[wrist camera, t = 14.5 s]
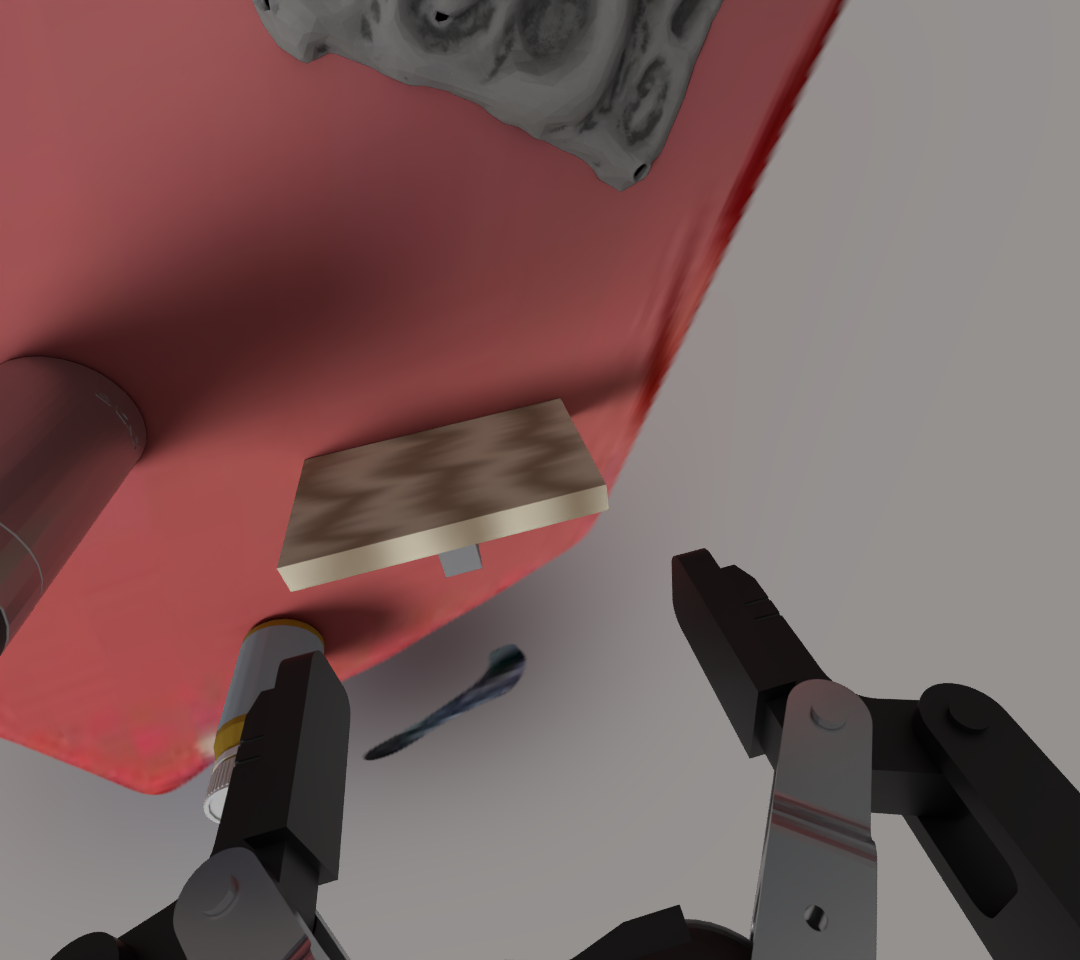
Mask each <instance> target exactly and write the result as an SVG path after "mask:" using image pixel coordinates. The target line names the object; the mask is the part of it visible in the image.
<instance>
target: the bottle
mask: <svg viewBox="0 0 1080 960" xmlns="http://www.w3.org/2000/svg"><path fill="white" fill-rule="evenodd" d="M324 648H325V644H324V640H323V637H322V636H321V635H320V633H319V632H318V631H317V630H316V629H314V628H313V627H312V626H310V625H309V624H307V623H305V622H302V621H299V620H295V619H274V620H271V621H268V622H265V623H263V624H260V625H258V626H257V627H255V628H253V629H252V630H250V631H249V632H248V634H247V635H246V636H245V638H244V640H243V643H242V645H241V649H240V652H239V656H238V660H237V663H236V667H235V670H234V674H233V677H232V681H231V684H230V688H229V691H228V695H227V698H226V702H225V705H224V709H223V713H222V716H221V720H220V723H219V727H218V730H217V734H216V739H215V743H214V753H215V760H216V763H215V765H214V769H213V772H212V773H213V774H212V775H211V778H210V782H209V786H208V789H207V793H206V797H205V801H204V812H205V814H206V816H207V817H208V818H209V819H211V820H212V821H214V822H216V823H218V824H220V820H221V816H222V811H223V807H224V803H225V799H226V795H227V791H228V787H229V783H230V779H231V775H232V771H233V767H235V758H236V754H237V750H238V746H240V738H241V734H242V730H243V726H244V721H245V717H246V715H247V713H248V712H249V710H250V709H251V707H252V705H253V704H254V702H255V700H256V699H257V697H258V696H259V694H260V692H261V691H265V690H268V689H272V688H274V686H275V682H276V677H277V672H278V668H279V665H280V663H281V661H282V660H283V659H287V658H290V657H294V656H298V655H302V654H305V653H309V652H313V651H317V650H319V651H321V652H322V653H323V655H324Z"/></svg>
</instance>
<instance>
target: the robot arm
mask: <svg viewBox="0 0 1080 960" xmlns="http://www.w3.org/2000/svg"><path fill="white" fill-rule="evenodd" d="M145 445H146V428H145V424H144V420H143V418H142V416H141V414H140V412H139V410H138V408H137V406H136V405H135V404H134V402H133V401H132V400H131V399H130V398H129V396H128V395H127V394H126V393H125V392H124V391H123V390H122V389H120V388H119V387H118V386H117V385H116V384H115V383H114V382H112V381H111V380H109V379H107V378H106V377H104V376H103V375H101V374H100V373H98V372H96V371H94V370H92V369H89V368H87V367H85V366H83V365H80V364H77V363H74V362H70V361H67V360H63V359H58V358H50V357H43V356H41V357H22V358H18V359H14V360H9V361H7V362H5V363H3V364H1V365H0V655H1V654H2V653H3V651H4V650H5V649H6V647H7V646H8V644H9V643H10V641H11V640H12V639H13V637H14V636H15V634H16V633H17V632H18V630H19V629H20V627H21V626H22V624H23V623H24V622H25V620H26V619H27V617H28V616H29V615H30V613H31V612H32V610H33V609H34V607H35V605H36V604H37V603H38V601H39V600H40V598H41V597H42V596H43V594H44V593H45V591H46V590H47V589H48V587H49V586H50V584H51V583H52V581H53V580H54V579H55V577H56V576H57V574H58V573H59V572H60V570H61V569H62V567H63V566H64V564H65V563H66V562H67V560H68V559H69V557H70V556H71V555H72V553H73V552H74V550H75V549H76V547H77V546H78V545H79V543H80V542H81V540H82V539H83V538H84V536H85V535H86V533H87V532H88V531H89V529H90V528H91V526H92V525H93V523H94V522H95V521H96V519H97V518H98V516H99V515H100V514H101V512H102V511H103V509H104V508H105V506H106V505H107V504H108V502H109V501H110V499H111V498H112V497H113V495H114V494H115V492H116V491H117V490H118V488H119V487H120V485H121V484H122V482H123V481H124V479H125V478H126V476H127V475H128V474H129V472H130V471H131V469H132V468H133V467H134V465H135V464H136V462H137V461H138V459H139V458H140V457H141V455H142V453H143V451H144V448H145ZM672 590H673V591H672V592H673V593H672V595H673V606H674V611H675V614H676V617H677V620H678V623H679V625H680V627H681V629H682V631H683V633H684V634H685V637H686V639H687V640H688V642H689V644H690V646H691V648H692V650H693V652H694V654H695V656H696V657H697V659H698V661H699V663H700V665H701V667H702V669H703V671H704V673H705V675H706V676H707V678H708V680H709V682H710V684H711V686H712V688H713V690H714V692H715V693H716V695H717V697H718V699H719V701H720V703H721V705H722V707H723V709H724V711H725V712H726V714H727V716H728V718H729V720H730V722H731V724H732V726H733V728H734V730H735V731H736V733H737V735H738V737H739V739H740V741H741V743H742V745H743V746H744V749H745V750H746V752H747V754H748V756H749V758H753V757H756V756H760V755H763V754H766V756H767V758H768V760H769V762H770V763H771V765H772V767H773V769H774V776H773V784H772V790H771V797H770V804H769V811H768V818H767V824H766V831H765V838H764V845H763V852H762V859H761V866H760V872H759V879H758V884H757V892H756V897H755V903H754V910H753V917H752V924H751V931H750V937H749V939H747V938H746V937H744V936H742V935H740V934H739V933H736V932H734V931H732V930H730V929H728V928H726V927H723V926H720V925H717V924H714V923H711V922H705V921H701V920H690V919H684V916H683V913H682V910H681V907H680V905H677V906H673V907H670V908H667V909H664V910H661V911H657V912H654V913H651V914H648V915H645V916H642V917H639V918H635V919H632V920H629V921H626V922H623V923H622V924H620V925H619V926H618V927H616V928H615V929H613V930H612V931H611V932H609V933H608V934H606V935H605V936H604V937H602V938H601V939H599V940H598V941H597V942H595V943H594V944H592V945H591V946H590V947H588V948H587V949H585V950H584V951H583V952H581V953H580V954H578V955H577V956H576V957H574V958H573V959H571V960H876V934H877V933H876V932H877V851H876V846H875V842H874V841H873V840H872V838H871V829H870V828H871V827H870V826H871V823H870V822H871V812H872V813H885V814H886V813H887V814H898V815H902V816H903V817H904V819H905V820H906V822H907V824H908V825H909V827H910V828H911V830H912V831H913V833H914V835H915V836H916V838H917V839H918V841H919V843H920V844H921V846H922V847H923V849H924V850H925V852H926V853H927V855H928V857H929V858H930V860H931V862H932V863H933V865H934V866H935V868H936V869H937V871H938V873H939V874H940V876H941V877H942V879H943V881H944V882H945V884H946V885H947V887H948V888H949V890H950V891H951V893H952V895H953V896H954V898H955V900H956V901H957V902H958V904H959V906H960V907H961V909H962V910H963V912H964V914H965V915H966V917H967V918H968V920H969V921H970V923H971V925H972V926H973V928H974V930H975V931H976V933H977V934H978V936H979V937H980V939H981V940H982V942H983V944H984V945H985V947H986V949H987V950H988V952H989V953H990V955H991V956H992V958H993V960H1080V793H1079V791H1078V790H1077V789H1076V788H1075V787H1074V786H1073V785H1072V784H1071V783H1070V782H1069V780H1068V779H1067V778H1066V777H1065V776H1064V775H1063V774H1062V773H1061V772H1060V770H1059V769H1058V768H1057V767H1056V766H1055V765H1054V764H1053V763H1052V762H1051V761H1050V759H1049V758H1048V757H1047V756H1046V755H1045V754H1044V753H1043V752H1042V750H1041V749H1040V748H1039V747H1038V746H1037V745H1036V744H1035V743H1034V742H1033V740H1032V739H1030V737H1029V736H1028V735H1027V734H1026V733H1025V732H1024V731H1023V729H1022V728H1021V727H1020V726H1019V725H1018V724H1017V723H1016V722H1015V721H1014V719H1013V718H1012V717H1011V716H1010V715H1009V714H1008V713H1007V712H1006V711H1005V710H1004V709H1003V708H1002V707H1001V706H1000V705H999V704H998V703H997V702H996V701H994V700H993V699H992V698H990V697H988V696H987V695H986V694H984V693H982V692H980V691H978V690H976V689H973V688H971V687H968V686H963V685H960V684H953V683H943V684H937V685H934V686H931V687H930V688H928V689H927V690H926V691H924V693H923V694H922V696H921V698H920V700H899V699H898V700H897V699H876V698H868V697H863V696H860V695H857V694H855V693H854V692H853V691H851V690H850V689H848V688H846V687H845V686H843V685H841V684H839V683H836V682H833V681H832V680H831V679H830V678H829V677H828V676H826V674H825V673H824V672H823V671H822V670H821V668H820V667H819V666H818V664H817V663H816V661H815V660H814V659H813V657H812V656H811V655H810V653H809V652H808V650H807V649H806V648H805V646H804V645H803V644H802V642H801V641H800V640H799V638H798V637H797V636H796V634H795V633H794V632H793V630H792V629H791V627H790V626H789V625H788V623H787V622H786V620H785V619H784V618H783V617H782V616H780V614H779V611H778V610H777V608H776V607H775V605H774V604H773V603H772V601H771V600H770V601H769V599H768V596H767V595H766V593H765V592H764V590H763V589H762V588H761V586H760V585H759V584H758V582H757V581H756V580H755V578H753V577H752V576H750V575H749V574H747V573H746V572H744V571H743V570H741V569H740V568H738V567H737V566H735V565H731V566H727V567H724V568H720V567H719V566H718V564H717V563H716V561H715V560H714V558H713V557H712V555H711V554H710V552H709V551H708V550H706V549H705V548H703V549H699V550H695V551H692V552H688V553H684V554H680V555H677V556H673V558H672ZM349 728H350V705H349V700H348V696H347V693H346V691H345V689H344V687H343V685H342V684H341V682H340V680H339V679H338V677H337V676H336V674H335V672H334V671H333V669H332V668H331V666H330V664H329V663H328V661H327V659H326V658H325V656H324V655H323V653H322V652H321V651H319V650H317V651H313V652H309V653H305V654H302V655H298V656H294V657H290V658H287V659H283V660H282V661H281V663H280V665H279V668H278V672H277V677H276V682H275V686H274V688H272V689H268V690H265V691H261V692H260V694H259V696H258V697H257V699H256V700H255V702H254V704H253V705H252V707H251V709H250V710H249V712H248V713H247V715H246V717H245V721H244V726H243V730H242V734H241V738H240V746H238V750H237V754H236V758H235V767H233V771H232V775H231V779H230V783H229V787H228V791H227V795H226V799H225V803H224V807H223V811H222V816H221V820H220V824H219V828H218V832H217V836H216V840H215V844H214V847H213V851H212V853H211V855H210V858H209V859H208V860H207V861H205V862H204V863H203V864H202V865H201V866H200V867H199V868H198V869H197V870H196V871H195V872H194V873H193V874H192V876H191V877H190V878H189V879H188V881H187V883H186V884H185V886H184V887H183V889H182V891H181V893H180V895H179V898H178V899H177V900H176V901H174V902H173V903H172V904H170V905H169V906H167V907H166V908H164V909H163V910H161V911H160V912H158V913H157V914H155V915H153V916H152V917H150V918H149V919H147V920H146V921H144V922H142V923H141V924H139V925H138V926H136V927H135V928H133V929H132V930H130V931H128V932H127V933H125V934H124V935H122V936H120V937H119V938H115V937H113V936H111V935H109V934H107V933H104V932H93V933H89V934H86V935H84V936H82V937H79V938H77V939H76V940H74V941H73V942H71V943H69V944H68V945H66V946H65V947H64V948H62V949H61V950H60V951H59V952H58V953H57V954H56V955H55V956H53V957H52V959H51V960H350V958H349V956H348V955H347V954H346V952H345V951H344V950H343V948H342V946H341V945H340V944H339V942H338V940H337V939H336V937H335V936H334V934H333V933H332V932H331V930H330V929H329V927H328V926H327V924H326V923H325V921H324V920H323V918H322V917H321V915H320V914H319V912H318V911H317V910H316V901H317V891H318V885H322V884H325V883H328V882H331V881H334V880H338V870H339V858H340V844H341V832H342V819H343V805H344V793H345V780H346V767H347V754H348V739H349Z"/></svg>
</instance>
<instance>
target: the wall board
mask: <svg viewBox="0 0 1080 960" xmlns="http://www.w3.org/2000/svg"><path fill="white" fill-rule="evenodd" d="M606 510H609V507H608V497H607V488H606V483H605V482H604V480H603V478H602V476H601V474H600V472H599V470H598V468H597V466H596V465H595V463H594V461H593V459H592V457H591V455H590V453H589V451H588V449H587V448H586V446H585V444H584V442H583V440H582V438H581V436H580V434H579V432H578V431H577V429H576V427H575V425H574V423H573V421H572V419H571V417H570V415H569V414H568V412H567V410H566V408H565V406H564V404H563V402H562V400H561V398H559V399H555V400H551V401H547V402H542V403H538V404H534V405H530V406H526V407H522V408H518V409H513V410H509V411H505V412H501V413H497V414H493V415H489V416H484V417H480V418H476V419H472V420H468V421H464V422H460V423H455V424H451V425H447V426H443V427H439V428H435V429H431V430H426V431H422V432H418V433H414V434H410V435H406V436H402V437H397V438H393V439H389V440H385V441H381V442H377V443H373V444H368V445H364V446H360V447H356V448H352V449H348V450H344V451H339V452H335V453H331V454H327V455H323V456H319V457H315V458H310V459H306V460H304V464H303V468H302V472H301V476H300V480H299V484H298V488H297V492H296V496H295V500H294V504H293V508H292V511H291V515H290V519H289V523H288V527H287V531H286V535H285V539H284V543H283V547H282V551H281V555H280V559H279V563H278V566H277V569H278V571H279V573H280V574H281V576H282V578H283V579H284V581H285V582H286V584H287V586H288V587H289V589H290V591H291V592H292V591H296V590H300V589H304V588H308V587H312V586H316V585H319V584H323V583H327V582H331V581H335V580H339V579H343V578H346V577H350V576H354V575H358V574H362V573H366V572H370V571H374V570H377V569H381V568H385V567H389V566H393V565H397V564H401V563H404V562H408V561H412V560H416V559H420V558H424V557H428V556H432V555H435V554H439V553H443V552H447V551H451V550H455V549H459V548H462V547H466V546H470V545H474V544H478V543H482V542H486V541H490V540H493V539H497V538H501V537H505V536H509V535H513V534H517V533H520V532H524V531H528V530H532V529H536V528H540V527H544V526H548V525H551V524H555V523H559V522H563V521H567V520H571V519H575V518H578V517H582V516H586V515H590V514H594V513H598V512H602V511H606Z"/></svg>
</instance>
